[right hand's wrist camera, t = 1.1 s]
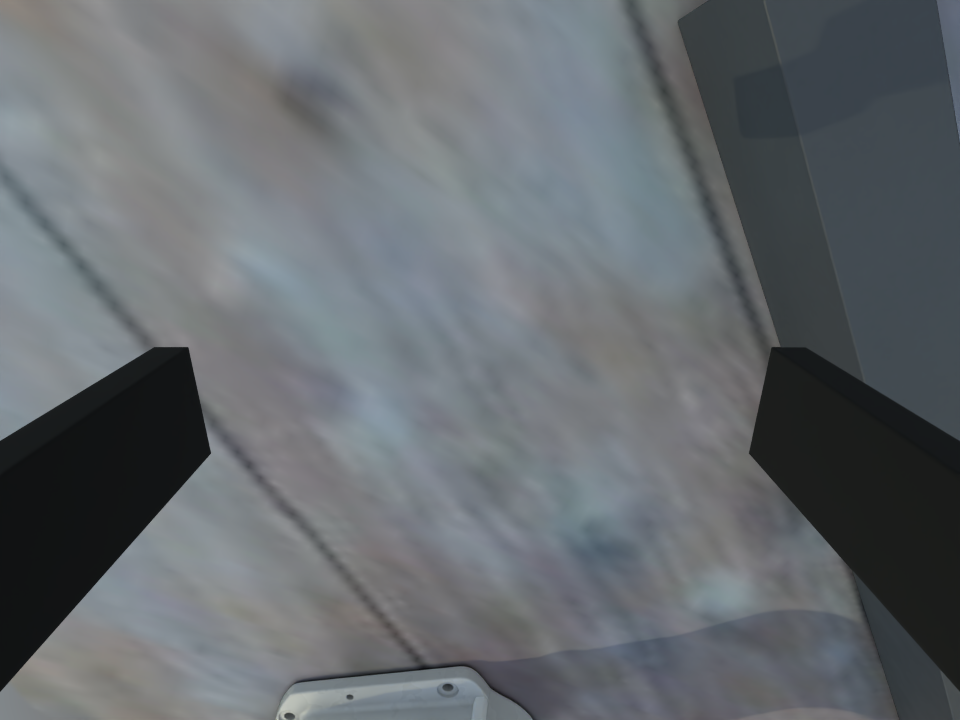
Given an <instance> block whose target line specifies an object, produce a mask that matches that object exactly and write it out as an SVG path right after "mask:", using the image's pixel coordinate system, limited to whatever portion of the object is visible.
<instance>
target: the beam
mask: <svg viewBox="0 0 960 720" xmlns="http://www.w3.org/2000/svg"><path fill="white" fill-rule="evenodd" d="M678 25H679V28H680V31H681V34H682V37H683V40H684V44H685V47H686V50H687V53H688V56H689V59H690V62H691V66H692V69H693V72H694V75H695V78H696V81H697V84H698V88H699V91H700V94H701V97H702V100H703V103H704V106H705V110H706V113H707V116H708V119H709V122H710V125H711V128H712V132H713V135H714V138H715V141H716V144H717V147H718V150H719V154H720V157H721V160H722V163H723V166H724V169H725V172H726V176H727V179H728V182H729V185H730V188H731V191H732V194H733V198H734V201H735V204H736V207H737V210H738V213H739V216H740V220H741V223H742V226H743V229H744V232H745V235H746V238H747V242H748V245H749V248H750V251H751V254H752V257H753V260H754V264H755V267H756V270H757V273H758V276H759V279H760V282H761V286H762V289H763V292H764V295H765V298H766V301H767V304H768V308H769V311H770V314H771V317H772V320H773V323H774V326H775V330H776V333H777V336H778V339H779V342H780V345H781V347H806V348H808V349H809V350H811V351H813V352H814V353H816V354H818V355H819V356H821V357H823V358H824V359H826V360H828V361H829V362H831V363H832V364H834V365H836V366H837V367H839V368H841V369H842V370H844V371H846V372H847V373H849V374H851V375H852V376H854V377H855V378H857V379H859V380H860V381H862V382H864V383H865V384H867V385H869V386H870V387H872V388H874V389H875V390H877V391H878V392H880V393H882V394H883V395H885V396H887V397H888V398H890V399H892V400H893V401H895V402H897V403H898V404H900V405H901V406H903V407H905V408H906V409H908V410H910V411H911V412H913V413H915V414H916V415H918V416H920V417H921V418H923V419H925V420H926V421H928V422H929V423H931V424H933V425H934V426H936V427H938V428H939V429H941V430H943V431H944V432H946V433H948V434H949V435H951V436H952V437H954V438H956V439H957V440H959V441H960V142H959V136H958V130H957V123H956V117H955V111H954V105H953V99H952V93H951V87H950V81H949V75H948V68H947V62H946V56H945V50H944V44H943V38H942V32H941V26H940V19H939V13H938V7H937V1H936V0H709V1H707V2H706V3H704V4H702V5H701V6H699V7H698V8H696V9H695V10H693V11H692V12H690V13H689V14H687V15H686V16H684V17H683V18H681V19H680V20H678ZM852 572H853V570H852ZM853 575H854V578H855V581H856V584H857V587H858V590H859V594H860V597H861V600H862V603H863V606H864V609H865V612H866V616H867V619H868V622H869V625H870V628H871V631H872V634H873V638H874V641H875V644H876V647H877V650H878V653H879V656H880V660H881V663H882V666H883V669H884V672H885V675H886V678H887V682H888V685H889V688H890V691H891V694H892V697H893V700H894V704H895V707H896V710H897V713H898V716H899V719H900V720H960V691H959V690H958V689H957V688H956V687H955V686H954V685H953V684H952V682H951V681H950V680H949V679H948V678H947V677H946V676H945V674H944V673H943V672H942V671H941V670H940V669H939V668H938V667H937V665H936V664H935V663H934V662H933V661H932V660H931V659H930V658H929V656H928V655H927V654H926V653H925V652H924V651H923V650H922V648H921V647H920V646H919V645H918V644H917V643H916V642H915V641H914V639H913V638H912V637H911V636H910V635H909V634H908V633H907V631H906V630H905V629H904V628H903V627H902V626H901V625H900V624H899V622H898V621H897V620H896V619H895V618H894V617H893V616H892V615H891V613H890V612H889V611H888V610H887V609H886V608H885V607H884V605H883V604H882V603H881V602H880V601H879V600H878V599H877V598H876V596H875V595H874V594H873V593H872V592H871V591H870V590H869V589H868V587H867V586H866V585H865V584H864V583H863V582H862V581H861V579H860V578H859V577H858V576H857V575H856V574H855V573H854V572H853Z"/></svg>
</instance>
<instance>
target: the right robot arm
mask: <svg viewBox="0 0 960 720" xmlns="http://www.w3.org/2000/svg"><path fill="white" fill-rule="evenodd" d="M210 454H211V451H210V447H209V442H208V437H207V432H206V428H205V423H204V418H203V414H202V409H201V404H200V400H199V395H198V390H197V386H196V381H195V376H194V372H193V367H192V362H191V358H190V353H189V348H188V347H154V348H152V349H151V350H149V351H147V352H146V353H144V354H142V355H141V356H139V357H137V358H136V359H134V360H132V361H131V362H129V363H128V364H126V365H124V366H123V367H121V368H119V369H118V370H116V371H114V372H113V373H111V374H109V375H108V376H106V377H105V378H103V379H101V380H100V381H98V382H96V383H95V384H93V385H91V386H90V387H88V388H86V389H85V390H83V391H82V392H80V393H78V394H77V395H75V396H73V397H72V398H70V399H68V400H67V401H65V402H63V403H62V404H60V405H59V406H57V407H55V408H54V409H52V410H50V411H49V412H47V413H45V414H44V415H42V416H40V417H39V418H37V419H35V420H34V421H32V422H31V423H29V424H27V425H26V426H24V427H22V428H21V429H19V430H17V431H16V432H14V433H12V434H11V435H9V436H8V437H6V438H4V439H3V440H1V441H0V691H1V690H2V689H3V688H4V687H5V686H6V685H7V684H8V682H9V681H10V680H11V679H12V678H13V677H14V676H15V674H16V673H17V672H18V671H19V670H20V669H21V668H22V667H23V665H24V664H25V663H26V662H27V661H28V660H29V659H30V658H31V656H32V655H33V654H34V653H35V652H36V651H37V650H38V648H39V647H40V646H41V645H42V644H43V643H44V642H45V641H46V639H47V638H48V637H49V636H50V635H51V634H52V633H53V631H54V630H55V629H56V628H57V627H58V626H59V625H60V624H61V622H62V621H63V620H64V619H65V618H66V617H67V616H68V615H69V613H70V612H71V611H72V610H73V609H74V608H75V607H76V605H77V604H78V603H79V602H80V601H81V600H82V599H83V598H84V596H85V595H86V594H87V593H88V592H89V591H90V590H91V589H92V587H93V586H94V585H95V584H96V583H97V582H98V581H99V579H100V578H101V577H102V576H103V575H104V574H105V573H106V572H107V570H108V569H109V568H110V567H111V566H112V565H113V564H114V562H115V561H116V560H117V559H118V558H119V557H120V556H121V555H122V553H123V552H124V551H125V550H126V549H127V548H128V547H129V546H130V544H131V543H132V542H133V541H134V540H135V539H136V538H137V536H138V535H139V534H140V533H141V532H142V531H143V530H144V529H145V527H146V526H147V525H148V524H149V523H150V522H151V521H152V520H153V518H154V517H155V516H156V515H157V514H158V513H159V512H160V510H161V509H162V508H163V507H164V506H165V505H166V504H167V503H168V501H169V500H170V499H171V498H172V497H173V496H174V495H175V494H176V492H177V491H178V490H179V489H180V488H181V487H182V486H183V484H184V483H185V482H186V481H187V480H188V479H189V478H190V477H191V475H192V474H193V473H194V472H195V471H196V470H197V469H198V467H199V466H200V465H201V464H202V463H203V462H204V461H205V460H206V458H207V457H208V456H209V455H210ZM749 454H750V455H751V456H752V457H753V458H754V460H755V461H756V462H757V463H758V464H759V465H760V466H761V467H762V469H763V470H764V471H765V472H766V473H767V474H768V475H769V477H770V478H771V479H772V480H773V481H774V482H775V483H776V484H777V486H778V487H779V488H780V489H781V490H782V491H783V492H784V494H785V495H786V496H787V497H788V498H789V499H790V500H791V501H792V503H793V504H794V505H795V506H796V507H797V508H798V509H799V510H800V512H801V513H802V514H803V515H804V516H805V517H806V518H807V520H808V521H809V522H810V523H811V524H812V525H813V526H814V527H815V529H816V530H817V531H818V532H819V533H820V534H821V535H822V536H823V538H824V539H825V540H826V541H827V542H828V543H829V544H830V546H831V547H832V548H833V549H834V550H835V551H836V552H837V553H838V555H839V556H840V557H841V558H842V559H843V560H844V561H845V562H846V564H847V565H848V566H849V567H850V568H851V569H852V570H853V572H854V573H855V574H856V575H857V576H858V577H859V578H860V579H861V581H862V582H863V583H864V584H865V585H866V586H867V587H868V589H869V590H870V591H871V592H872V593H873V594H874V595H875V596H876V598H877V599H878V600H879V601H880V602H881V603H882V604H883V605H884V607H885V608H886V609H887V610H888V611H889V612H890V613H891V615H892V616H893V617H894V618H895V619H896V620H897V621H898V622H899V624H900V625H901V626H902V627H903V628H904V629H905V630H906V631H907V633H908V634H909V635H910V636H911V637H912V638H913V639H914V641H915V642H916V643H917V644H918V645H919V646H920V647H921V648H922V650H923V651H924V652H925V653H926V654H927V655H928V656H929V658H930V659H931V660H932V661H933V662H934V663H935V664H936V665H937V667H938V668H939V669H940V670H941V671H942V672H943V673H944V674H945V676H946V677H947V678H948V679H949V680H950V681H951V682H952V684H953V685H954V686H955V687H956V688H957V689H958V690H959V691H960V441H959V440H957V439H956V438H954V437H952V436H951V435H949V434H948V433H946V432H944V431H943V430H941V429H939V428H938V427H936V426H934V425H933V424H931V423H929V422H928V421H926V420H925V419H923V418H921V417H920V416H918V415H916V414H915V413H913V412H911V411H910V410H908V409H906V408H905V407H903V406H901V405H900V404H898V403H897V402H895V401H893V400H892V399H890V398H888V397H887V396H885V395H883V394H882V393H880V392H878V391H877V390H875V389H874V388H872V387H870V386H869V385H867V384H865V383H864V382H862V381H860V380H859V379H857V378H855V377H854V376H852V375H851V374H849V373H847V372H846V371H844V370H842V369H841V368H839V367H837V366H836V365H834V364H832V363H831V362H829V361H828V360H826V359H824V358H823V357H821V356H819V355H818V354H816V353H814V352H813V351H811V350H809V349H808V348H806V347H772V348H771V353H770V358H769V362H768V367H767V372H766V376H765V381H764V386H763V390H762V395H761V400H760V404H759V409H758V414H757V418H756V423H755V428H754V432H753V437H752V442H751V447H750V451H749Z"/></svg>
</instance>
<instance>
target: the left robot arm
mask: <svg viewBox="0 0 960 720" xmlns="http://www.w3.org/2000/svg"><path fill="white" fill-rule="evenodd" d="M276 720H533V719H532V718H531V716H530V715H529V714H528V713H527V712H526V711H525V710H524V709H523V708H521V707H520V706H519V705H517V704H516V703H514V702H513V701H511V700H509V699H508V698H506V697H504V696H502V695H500V694H498V693H497V692H495V691H494V690H492V689H491V688H490V687H489V686H488V684H487V683H486V682H485V681H484V679H483V678H482V677H481V676H480V675H479V674H478V673H477V672H476V671H475V670H473V669H471V668H469V667H465V666H458V667H448V668H438V669H428V670H418V671H408V672H398V673H388V674H378V675H368V676H358V677H349V678H339V679H329V680H319V681H309V682H301V683H296V684H294V685H292V686H291V687H290V688H289V690H288V691H287V692H286V693H285V695H284V696H283V698H282V700H281V702H280V705H279V708H278V712H277V716H276Z"/></svg>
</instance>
